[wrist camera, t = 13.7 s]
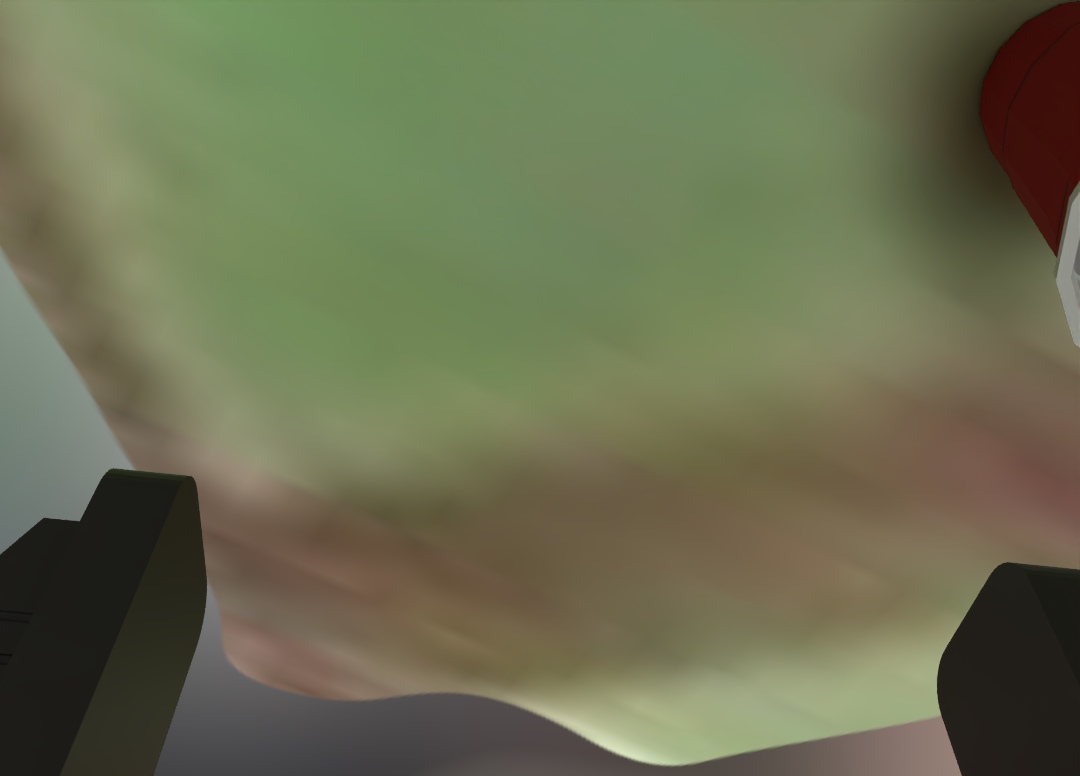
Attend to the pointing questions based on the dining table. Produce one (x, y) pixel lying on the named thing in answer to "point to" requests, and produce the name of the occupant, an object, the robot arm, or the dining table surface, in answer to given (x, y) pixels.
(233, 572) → the dining table surface
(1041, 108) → the plastic cup
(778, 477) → the dining table surface
